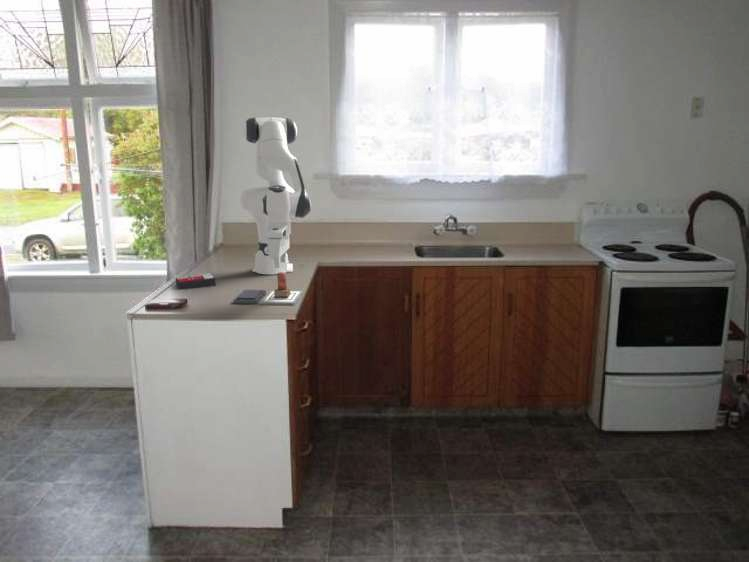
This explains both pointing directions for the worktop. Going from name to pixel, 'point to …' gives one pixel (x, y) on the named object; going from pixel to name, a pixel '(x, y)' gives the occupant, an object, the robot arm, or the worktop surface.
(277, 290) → the stamp
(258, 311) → the worktop surface
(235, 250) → the worktop surface
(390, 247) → the worktop surface
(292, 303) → the board
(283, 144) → the robot arm
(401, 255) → the worktop surface
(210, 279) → the calculator
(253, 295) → the ink pad
